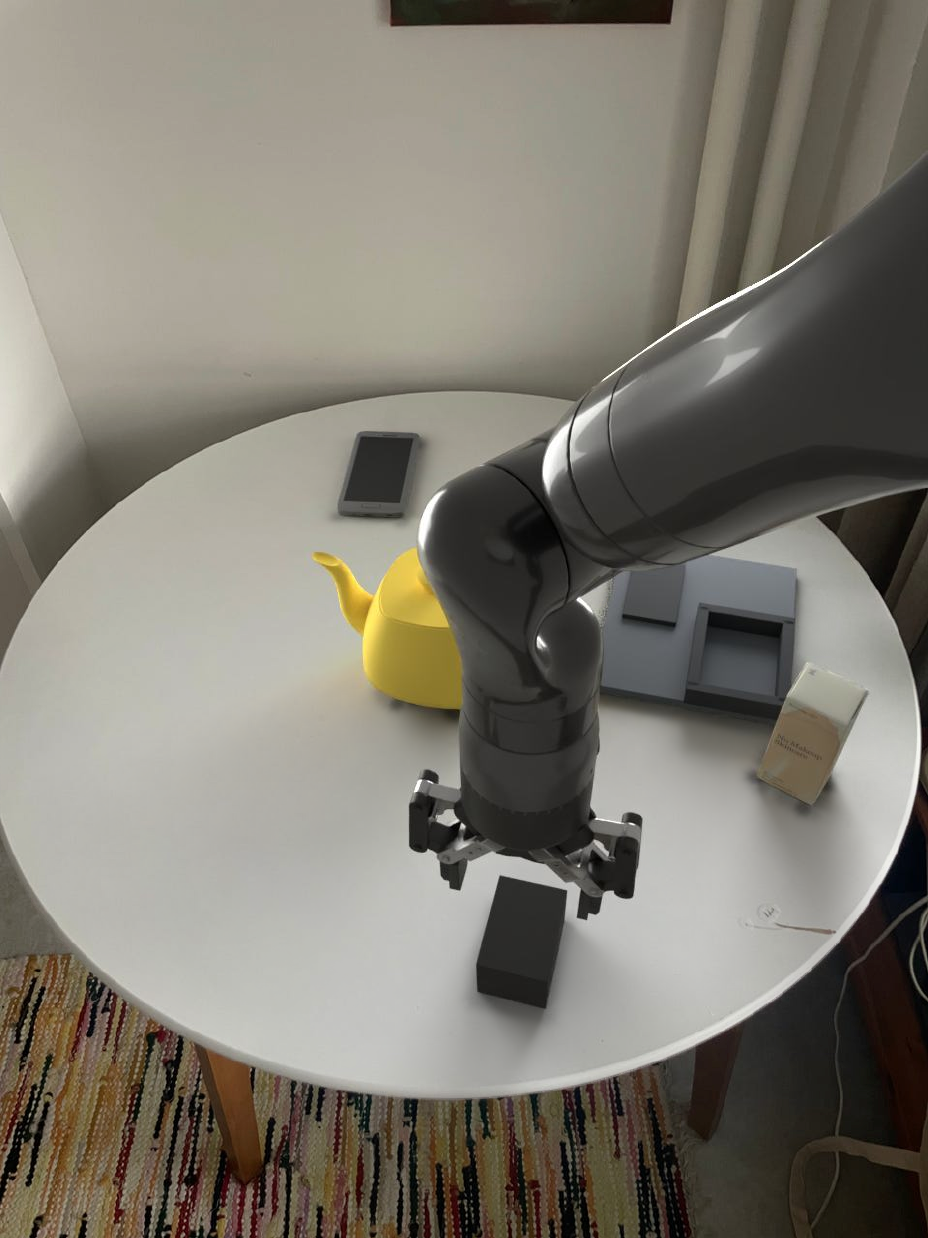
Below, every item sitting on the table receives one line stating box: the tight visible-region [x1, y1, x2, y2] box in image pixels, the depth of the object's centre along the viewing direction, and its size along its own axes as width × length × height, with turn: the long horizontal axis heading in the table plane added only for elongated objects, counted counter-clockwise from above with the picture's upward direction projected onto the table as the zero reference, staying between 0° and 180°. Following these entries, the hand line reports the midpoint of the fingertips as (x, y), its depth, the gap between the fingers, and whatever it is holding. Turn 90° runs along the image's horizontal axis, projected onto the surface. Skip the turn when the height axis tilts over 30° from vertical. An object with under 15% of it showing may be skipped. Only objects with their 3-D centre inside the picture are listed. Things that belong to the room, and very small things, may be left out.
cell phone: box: [337, 430, 421, 518], centre depth 112 cm, size 7×14×1 cm, turn 175°
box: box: [756, 661, 870, 806], centre depth 81 cm, size 5×4×11 cm
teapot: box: [311, 547, 462, 711], centre depth 89 cm, size 13×20×12 cm
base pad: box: [600, 554, 798, 726], centre depth 95 cm, size 17×19×3 cm
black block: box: [475, 875, 568, 1009], centre depth 73 cm, size 5×7×4 cm
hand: (521, 892), depth 68 cm, fingers open, 8 cm apart
